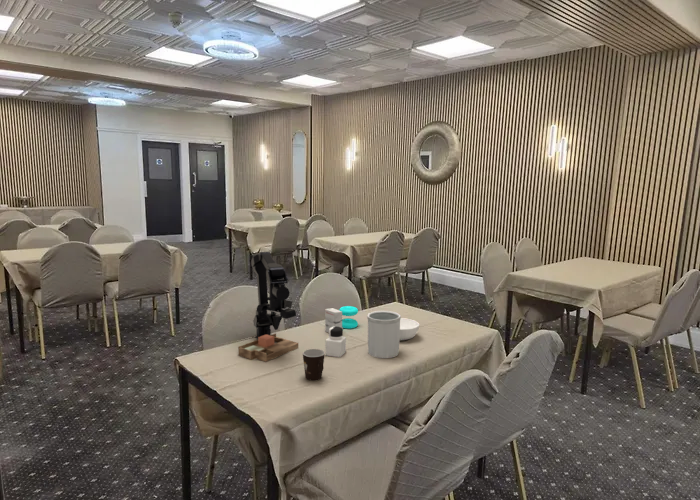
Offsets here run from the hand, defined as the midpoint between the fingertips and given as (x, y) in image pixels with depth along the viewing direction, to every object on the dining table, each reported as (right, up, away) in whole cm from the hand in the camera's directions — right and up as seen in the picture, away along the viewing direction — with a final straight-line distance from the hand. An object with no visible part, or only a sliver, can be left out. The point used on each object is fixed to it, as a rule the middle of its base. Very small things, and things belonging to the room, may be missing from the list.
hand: (276, 329), depth 203 cm
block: (-5, -8, +5) cm, 11 cm away
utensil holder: (+47, -11, +5) cm, 49 cm away
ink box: (+24, -7, +30) cm, 39 cm away
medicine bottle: (+26, -11, +2) cm, 28 cm away
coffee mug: (+18, -15, -24) cm, 34 cm away
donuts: (+32, -6, +41) cm, 52 cm away
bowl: (+57, -8, +25) cm, 63 cm away
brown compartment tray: (-3, -10, +3) cm, 11 cm away
